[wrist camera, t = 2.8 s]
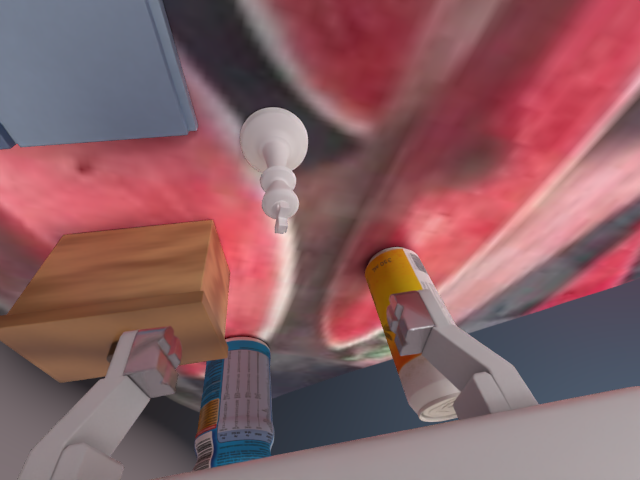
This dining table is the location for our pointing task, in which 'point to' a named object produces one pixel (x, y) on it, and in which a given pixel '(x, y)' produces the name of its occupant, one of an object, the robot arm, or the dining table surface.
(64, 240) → the bread box
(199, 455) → the beverage bottle
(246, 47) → the dining table surface
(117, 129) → the grey flat slab
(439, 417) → the yellow cylinder
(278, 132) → the chess piece
